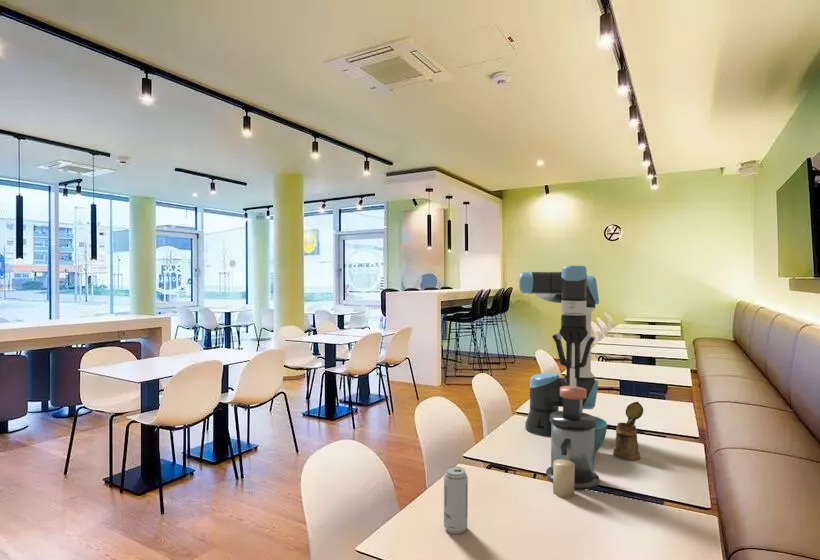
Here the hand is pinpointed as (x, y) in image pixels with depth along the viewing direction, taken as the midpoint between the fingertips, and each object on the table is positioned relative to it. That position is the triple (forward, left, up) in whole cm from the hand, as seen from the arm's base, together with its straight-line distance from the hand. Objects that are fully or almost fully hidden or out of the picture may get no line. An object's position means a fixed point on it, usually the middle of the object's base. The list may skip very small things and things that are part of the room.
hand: (573, 388), depth 151 cm
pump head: (0, 0, -9) cm, 9 cm away
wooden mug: (-10, +33, -29) cm, 45 cm away
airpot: (+1, -2, -29) cm, 29 cm away
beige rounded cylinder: (+8, -9, -29) cm, 31 cm away
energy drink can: (+15, -48, -29) cm, 58 cm away
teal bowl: (-16, +16, -29) cm, 37 cm away
